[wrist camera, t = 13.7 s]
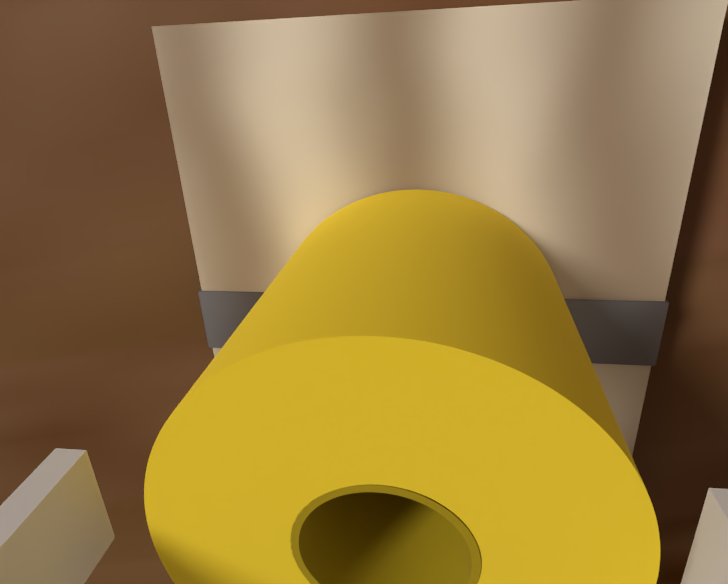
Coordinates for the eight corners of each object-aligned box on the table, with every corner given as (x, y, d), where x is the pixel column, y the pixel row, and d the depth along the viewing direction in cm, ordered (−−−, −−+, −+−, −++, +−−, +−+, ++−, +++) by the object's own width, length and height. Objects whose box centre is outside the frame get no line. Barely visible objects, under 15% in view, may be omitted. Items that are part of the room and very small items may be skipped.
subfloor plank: (284, 665, 32) (276, 694, 30) (172, 28, 17) (147, 26, 16) (569, 704, 29) (575, 738, 28) (709, -5, 15) (736, -10, 13)
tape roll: (619, 250, 17) (789, 464, 8) (491, 472, 21) (516, 757, 13) (318, 146, 17) (180, 251, 8) (254, 388, 21) (123, 617, 13)
